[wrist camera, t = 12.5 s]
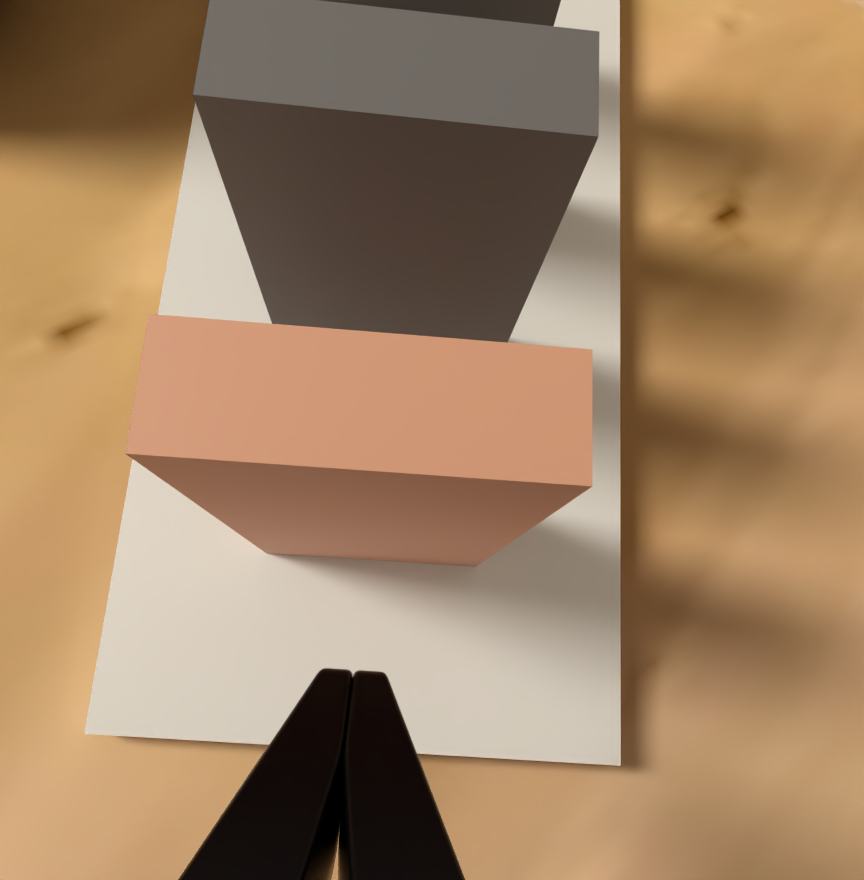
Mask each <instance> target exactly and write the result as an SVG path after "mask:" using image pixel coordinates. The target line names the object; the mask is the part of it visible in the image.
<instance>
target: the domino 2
mask: <svg viewBox="0 0 864 880" xmlns="http://www.w3.org/2000/svg"><path fill="white" fill-rule="evenodd" d="M193 97H194V100H195V103H196V106H197V108H198V111H199V114H200V117H201V120H202V123H203V126H204V129H205V132H206V134H207V137H208V140H209V143H210V146H211V149H212V152H213V155H214V158H215V160H216V163H217V166H218V169H219V172H220V175H221V178H222V181H223V184H224V186H225V189H226V192H227V195H228V198H229V201H230V204H231V207H232V209H233V212H234V215H235V218H236V221H237V224H238V227H239V230H240V233H241V235H242V238H243V241H244V244H245V247H246V250H247V253H248V256H249V259H250V261H251V264H252V267H253V270H254V273H255V276H256V279H257V282H258V285H259V287H260V290H261V293H262V296H263V299H264V302H265V305H266V308H267V311H268V313H269V316H270V319H271V322H272V324H282V325H294V326H307V327H319V328H332V329H344V330H357V331H369V332H382V333H394V334H407V335H419V336H431V337H444V338H456V339H469V340H481V341H494V342H506V343H508V341H509V338H510V336H511V334H512V331H513V329H514V327H515V325H516V322H517V320H518V318H519V316H520V313H521V311H522V309H523V307H524V304H525V302H526V300H527V298H528V295H529V293H530V291H531V288H532V286H533V284H534V282H535V279H536V277H537V275H538V273H539V270H540V268H541V266H542V264H543V261H544V259H545V257H546V255H547V252H548V250H549V248H550V246H551V243H552V241H553V239H554V236H555V234H556V232H557V230H558V227H559V225H560V223H561V221H562V218H563V216H564V214H565V212H566V209H567V207H568V205H569V203H570V200H571V198H572V196H573V193H574V191H575V189H576V187H577V184H578V182H579V180H580V178H581V175H582V173H583V171H584V169H585V166H586V164H587V162H588V160H589V157H590V155H591V153H592V150H593V148H594V146H595V144H596V141H597V139H598V137H599V31H591V30H582V29H573V28H564V27H555V26H546V25H537V24H528V23H519V22H510V21H501V20H492V19H483V18H474V17H465V16H456V15H447V14H438V13H429V12H420V11H411V10H402V9H393V8H384V7H375V6H365V5H356V4H347V3H338V2H329V1H320V0H209V6H208V12H207V17H206V23H205V28H204V34H203V40H202V45H201V51H200V57H199V62H198V68H197V73H196V79H195V85H194V90H193Z"/></svg>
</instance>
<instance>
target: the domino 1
mask: <svg viewBox="0 0 864 880" xmlns="http://www.w3.org/2000/svg"><path fill="white" fill-rule="evenodd" d="M320 1H329V2H338V3H347V4H356V5H365V6H375V7H384V8H393V9H402V10H411V11H420V12H429V13H438V14H447V15H456V16H465V17H474V18H483V19H492V20H501V21H510V22H519V23H528V24H537V25H546V26H554V23H555V20H556V16H557V13H558V9H559V6H560V2H561V0H320Z"/></svg>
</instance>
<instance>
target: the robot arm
mask: <svg viewBox="0 0 864 880" xmlns="http://www.w3.org/2000/svg"><path fill="white" fill-rule="evenodd" d="M339 829H340V830H339ZM338 837H339V849H338V880H465V878H464V876H463V873H462V870H461V868H460V865H459V862H458V860H457V857H456V855H455V852H454V849H453V847H452V844H451V841H450V839H449V836H448V834H447V831H446V828H445V826H444V823H443V820H442V818H441V815H440V813H439V810H438V807H437V805H436V802H435V800H434V797H433V794H432V792H431V789H430V786H429V784H428V781H427V779H426V776H425V773H424V771H423V768H422V765H421V763H420V760H419V758H418V755H417V752H416V750H415V747H414V744H413V742H412V739H411V737H410V734H409V731H408V729H407V726H406V723H405V721H404V718H403V716H402V713H401V710H400V708H399V705H398V703H397V700H396V697H395V695H394V692H393V689H392V687H391V684H390V682H389V679H388V677H387V675H386V674H385V673H384V672H379V671H364V670H358V671H356V672H355V673H354V675H353V674H352V672H351V671H350V670H348V669H333V668H323V669H321V670H320V671H319V672H318V673H317V674H316V676H315V677H314V679H313V680H312V682H311V683H310V685H309V686H308V688H307V689H306V691H305V692H304V694H303V695H302V697H301V698H300V700H299V701H298V703H297V704H296V706H295V707H294V709H293V710H292V712H291V713H290V715H289V716H288V717H287V719H286V720H285V722H284V723H283V725H282V726H281V728H280V729H279V731H278V732H277V734H276V735H275V737H274V738H273V740H272V741H271V743H270V744H269V746H268V747H267V749H266V750H265V752H264V753H263V755H262V756H261V758H260V759H259V761H258V762H257V763H256V765H255V766H254V768H253V769H252V771H251V772H250V774H249V775H248V777H247V778H246V780H245V781H244V783H243V784H242V786H241V787H240V789H239V790H238V792H237V793H236V795H235V796H234V798H233V799H232V801H231V802H230V804H229V805H228V807H227V808H226V809H225V811H224V812H223V814H222V815H221V817H220V818H219V820H218V821H217V823H216V824H215V826H214V827H213V829H212V830H211V832H210V833H209V835H208V836H207V838H206V839H205V841H204V842H203V844H202V845H201V847H200V848H199V850H198V851H197V853H196V854H195V856H194V857H193V858H192V860H191V861H190V863H189V864H188V866H187V867H186V869H185V870H184V872H183V873H182V875H181V876H180V878H179V879H178V880H331V878H332V873H333V868H334V863H335V858H336V852H337V845H338Z"/></svg>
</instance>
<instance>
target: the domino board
mask: <svg viewBox="0 0 864 880" xmlns="http://www.w3.org/2000/svg"><path fill="white" fill-rule="evenodd" d="M554 26H555V27H564V28H573V29H582V30H591V31H599V137H598V139H597V141H596V144H595V146H594V148H593V150H592V153H591V155H590V157H589V160H588V162H587V164H586V166H585V169H584V171H583V173H582V175H581V178H580V180H579V182H578V184H577V187H576V189H575V191H574V193H573V196H572V198H571V200H570V203H569V205H568V207H567V209H566V212H565V214H564V216H563V218H562V221H561V223H560V225H559V227H558V230H557V232H556V234H555V236H554V239H553V241H552V243H551V246H550V248H549V250H548V252H547V255H546V257H545V259H544V261H543V264H542V266H541V268H540V270H539V273H538V275H537V277H536V279H535V282H534V284H533V286H532V288H531V291H530V293H529V295H528V298H527V300H526V302H525V304H524V307H523V309H522V311H521V313H520V316H519V318H518V320H517V322H516V325H515V327H514V329H513V331H512V334H511V336H510V338H509V341H508V343H519V344H531V345H544V346H556V347H569V348H581V349H592V487H591V488H589V489H588V490H586V491H585V492H584V493H582V494H581V495H579V496H578V497H576V498H575V499H573V500H572V501H570V502H569V503H568V504H566V505H565V506H563V507H562V508H560V509H559V510H557V511H556V512H554V513H553V514H552V515H550V516H549V517H547V518H546V519H544V520H543V521H541V522H540V523H538V524H537V525H536V526H534V527H533V528H531V529H530V530H528V531H527V532H525V533H524V534H522V535H521V536H520V537H518V538H517V539H515V540H514V541H512V542H511V543H509V544H508V545H507V546H505V547H504V548H502V549H501V550H499V551H498V552H496V553H495V554H493V555H492V556H491V557H489V558H488V559H486V560H485V561H483V562H482V563H480V564H479V565H477V566H476V567H474V566H458V565H442V564H426V563H411V562H395V561H379V560H364V559H348V558H332V557H317V556H301V555H285V554H270V553H265V552H264V551H262V550H261V549H259V548H258V547H257V546H255V545H254V544H252V543H251V542H250V541H248V540H247V539H245V538H244V537H242V536H241V535H240V534H238V533H237V532H235V531H234V530H233V529H231V528H230V527H228V526H227V525H225V524H224V523H223V522H221V521H220V520H218V519H217V518H216V517H214V516H213V515H211V514H210V513H209V512H207V511H206V510H204V509H203V508H201V507H200V506H199V505H197V504H196V503H194V502H193V501H192V500H190V499H189V498H187V497H186V496H184V495H183V494H182V493H180V492H179V491H177V490H176V489H175V488H173V487H172V486H170V485H169V484H167V483H166V482H165V481H163V480H162V479H160V478H159V477H158V476H156V475H155V474H153V473H152V472H150V471H149V470H148V469H146V468H145V467H143V466H142V465H141V464H139V463H138V462H136V461H135V460H133V459H132V465H131V471H130V476H129V482H128V488H127V493H126V499H125V505H124V510H123V516H122V522H121V527H120V533H119V539H118V544H117V550H116V556H115V562H114V567H113V573H112V579H111V584H110V590H109V596H108V601H107V607H106V613H105V618H104V624H103V630H102V635H101V641H100V647H99V652H98V658H97V664H96V669H95V675H94V681H93V687H92V692H91V698H90V704H89V709H88V715H87V721H86V726H85V732H84V734H97V735H114V736H130V737H147V738H164V739H181V740H197V741H214V742H231V743H248V744H265V745H269V744H270V743H271V741H272V740H273V738H274V737H275V735H276V734H277V732H278V731H279V729H280V728H281V726H282V725H283V723H284V722H285V720H286V719H287V717H288V716H289V715H290V713H291V712H292V710H293V709H294V707H295V706H296V704H297V703H298V701H299V700H300V698H301V697H302V695H303V694H304V692H305V691H306V689H307V688H308V686H309V685H310V683H311V682H312V680H313V679H314V677H315V676H316V674H317V673H318V672H319V671H320V670H321V669H323V668H333V669H348V670H350V671H351V672H352V674H353V675H354V673H355V672H356V671H358V670H364V671H379V672H384V673H385V674H386V675H387V677H388V679H389V682H390V684H391V687H392V689H393V692H394V695H395V697H396V700H397V703H398V705H399V708H400V710H401V713H402V716H403V718H404V721H405V723H406V726H407V729H408V731H409V734H410V737H411V739H412V742H413V744H414V747H415V750H416V752H417V754H433V755H449V756H466V757H483V758H500V759H517V760H533V761H550V762H567V763H584V764H600V765H617V766H621V565H620V0H561V2H560V6H559V9H558V13H557V16H556V20H555V23H554ZM158 315H169V316H182V317H194V318H207V319H219V320H232V321H244V322H257V323H269V324H272V322H271V319H270V316H269V313H268V311H267V308H266V305H265V302H264V299H263V296H262V293H261V290H260V287H259V285H258V282H257V279H256V276H255V273H254V270H253V267H252V264H251V261H250V259H249V256H248V253H247V250H246V247H245V244H244V241H243V238H242V235H241V233H240V230H239V227H238V224H237V221H236V218H235V215H234V212H233V209H232V207H231V204H230V201H229V198H228V195H227V192H226V189H225V186H224V184H223V181H222V178H221V175H220V172H219V169H218V166H217V163H216V160H215V158H214V155H213V152H212V149H211V146H210V143H209V140H208V137H207V134H206V132H205V129H204V126H203V123H202V120H201V117H200V114H199V111H198V108H197V106H196V103H195V107H194V113H193V118H192V124H191V130H190V135H189V141H188V147H187V153H186V158H185V164H184V170H183V175H182V181H181V187H180V192H179V198H178V204H177V209H176V215H175V221H174V226H173V232H172V238H171V243H170V249H169V255H168V260H167V266H166V272H165V277H164V283H163V289H162V295H161V300H160V306H159V312H158Z"/></svg>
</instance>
